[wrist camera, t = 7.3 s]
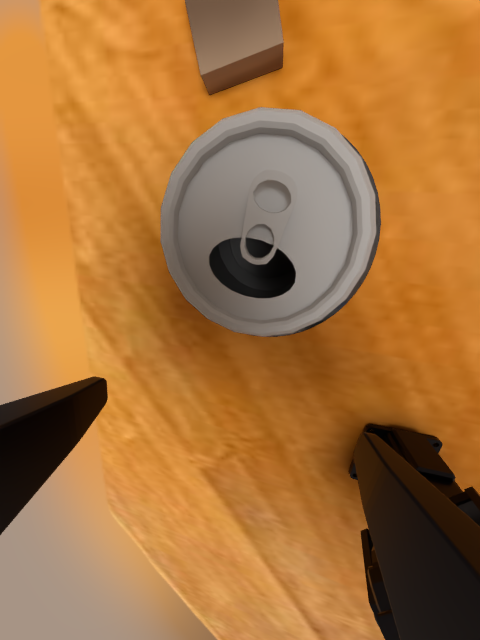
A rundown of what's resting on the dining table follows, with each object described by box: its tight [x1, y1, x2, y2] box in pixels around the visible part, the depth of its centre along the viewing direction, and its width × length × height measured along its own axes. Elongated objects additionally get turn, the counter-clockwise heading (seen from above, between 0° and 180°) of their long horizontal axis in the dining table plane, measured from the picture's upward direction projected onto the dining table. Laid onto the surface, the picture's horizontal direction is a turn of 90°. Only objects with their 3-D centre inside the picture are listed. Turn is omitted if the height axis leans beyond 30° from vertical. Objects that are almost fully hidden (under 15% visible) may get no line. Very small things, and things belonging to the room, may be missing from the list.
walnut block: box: [185, 0, 283, 95], centre depth 14 cm, size 5×5×2 cm
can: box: [161, 107, 376, 337], centre depth 12 cm, size 8×8×12 cm
